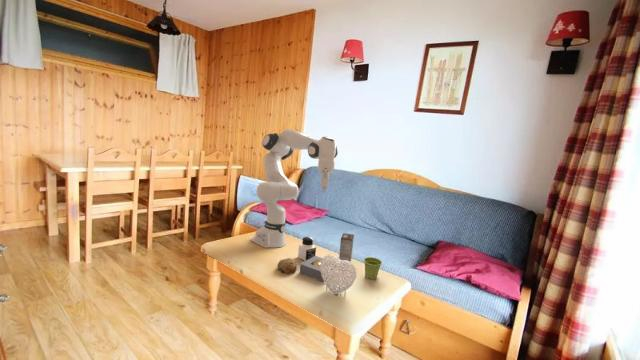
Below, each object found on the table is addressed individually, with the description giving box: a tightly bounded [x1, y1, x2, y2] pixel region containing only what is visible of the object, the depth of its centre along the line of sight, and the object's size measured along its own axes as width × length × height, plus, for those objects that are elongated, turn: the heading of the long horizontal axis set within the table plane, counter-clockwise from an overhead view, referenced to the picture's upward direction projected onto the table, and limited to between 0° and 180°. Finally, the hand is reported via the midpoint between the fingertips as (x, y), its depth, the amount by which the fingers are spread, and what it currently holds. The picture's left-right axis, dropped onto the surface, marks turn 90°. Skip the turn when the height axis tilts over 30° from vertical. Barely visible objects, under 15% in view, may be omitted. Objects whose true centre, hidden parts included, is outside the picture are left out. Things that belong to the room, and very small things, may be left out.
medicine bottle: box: [297, 236, 317, 262], centre depth 178 cm, size 7×7×12 cm
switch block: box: [299, 255, 336, 283], centre depth 162 cm, size 14×14×5 cm
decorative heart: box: [320, 254, 357, 298], centre depth 142 cm, size 18×11×17 cm, turn 53°
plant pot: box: [363, 256, 383, 280], centre depth 163 cm, size 9×9×9 cm
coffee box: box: [338, 232, 355, 266], centre depth 175 cm, size 9×6×16 cm
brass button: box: [313, 261, 321, 267], centre depth 162 cm, size 6×6×4 cm
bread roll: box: [277, 257, 298, 275], centre depth 162 cm, size 10×10×8 cm
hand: (323, 191), depth 174 cm, fingers closed
